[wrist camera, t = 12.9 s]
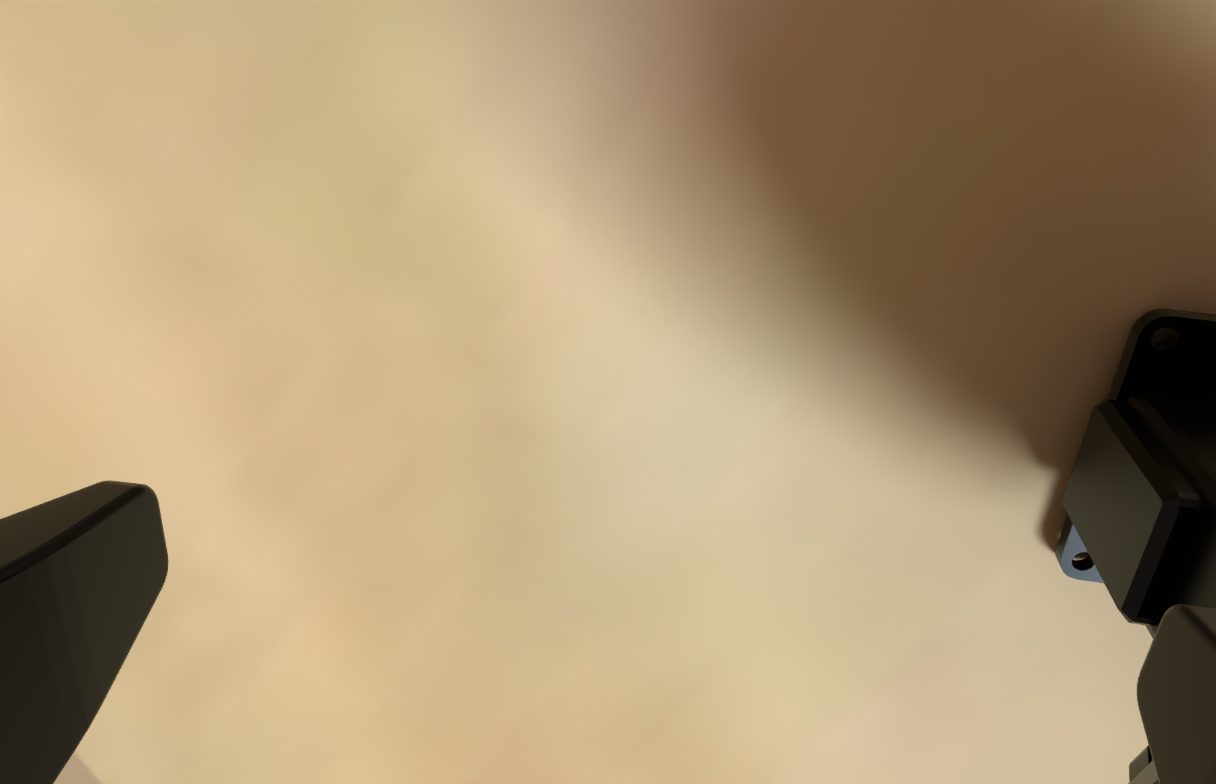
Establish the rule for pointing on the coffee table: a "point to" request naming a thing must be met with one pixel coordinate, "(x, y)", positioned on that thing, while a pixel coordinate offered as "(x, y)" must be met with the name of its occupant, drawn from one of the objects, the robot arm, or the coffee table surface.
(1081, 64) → the coffee table surface
